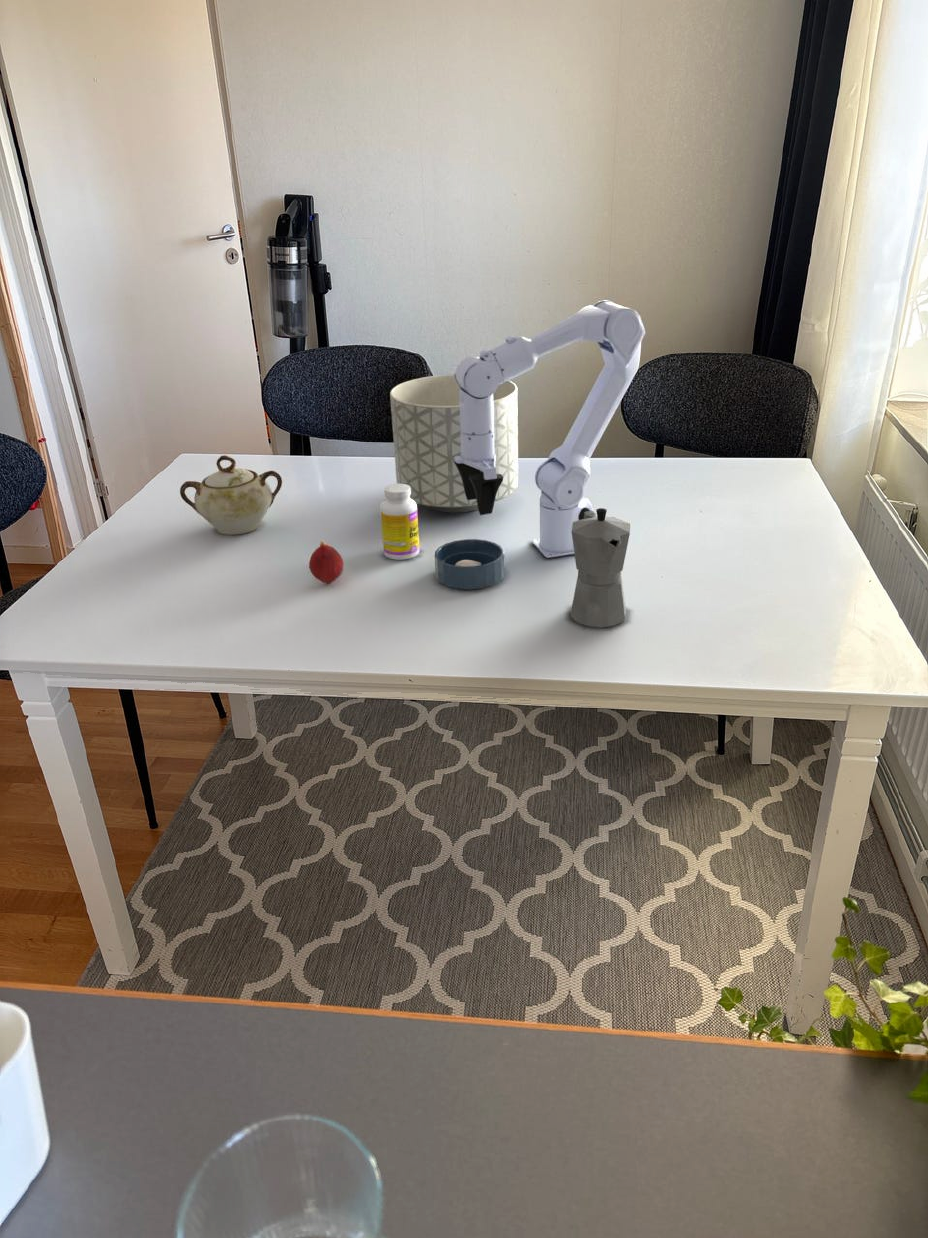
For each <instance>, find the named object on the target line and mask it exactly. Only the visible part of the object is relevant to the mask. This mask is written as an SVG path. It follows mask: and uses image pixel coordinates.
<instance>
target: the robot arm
mask: <svg viewBox="0 0 928 1238" xmlns="http://www.w3.org/2000/svg"><path fill="white" fill-rule="evenodd" d="M645 335H646V329H645V327H644V323H643V321H642V317H641V315H640V314H639V312H638V311H636V309H633V308H630V307H625V306H622V305H619V304H616V303H614V302H613V301H611V300H608V299H602V300H599V301H597V302H595V303H593V305H592V304H591V305H587V306H584V307H582V308H581V309H580V310H579V311H577V312H576V313H574V314H572V315H571V316H569V317H567V318H565V319H563V320H561V321H559V322H558V323H555V324H554V325H552V326H550V327H548V328H547V329H545V330H543V331H541V332H540V333H538V334H535V335H534V336H533V337H530V338H526V337H524V336H523V335H522V336H521V335H518V336H516V337H515V335H509V336H507V337H505V342H503V343H501V344H499V345H497V346H495V347H493V348H490V349H489V350H486V349H483V350H481V351H480V352H479V354H480V355H479V356H474V355H471V356H467V357H465V358H463V359H462V360H461V361H460V362H459V364H458V365H457V367H456V370H455V373H453V374H454V379H455V382H456V383H457V385H458V386H459V387H460V431H461V454H460V456H456V457H455V461H454V463H455V465H456V467H457V469H458V471H459V473H460V476H461V479H462V483H463V487H464V491H465V495H466V498H467V500H473V499H476V500H477V506H478V509H477V511H478V513H479V515H480V516H482V515H483V516H484V515H491V514H492V513H493V510H494V505H495V502H496V501H495V497H496V494H497V491H498V489H499V487H500V485H501V483H502V482H503V476H502V475H501V474H497V469H496V467H495V461H496V455H495V454H494V403H493V393H494V392H495V391H496V389H497V387H498V385H499V384H502V383H504V382H506V381H508V380H509V381H511V380H512V379H515V378H516V377H518V376H521V375H523V374H524V373H526V372H529V371H531V370H533V369H534V368H535V366H536V364H537V361H538V359H539V358H541V357H543V356H546V355H548V354H550V353H552V352H554V351H557V350H559V349H562V348H564V347H566V346H569V345H571V344H573V343H576V342H579V341H580V340H583V341H591V342H596V343H597V345H598V346H599V349H600V352H601V355H602V358H603V362H604V365H603V367H602V369H601V371H600V373H599V374H598V377H597V378H596V380H595V382H594V384H593V386H592V388H591V390H590V392H589V394H588V396H587V397H586V399H585V401H584V403H583V405H582V407H581V409H580V411H579V413H578V415H577V417H575V420H574V422H573V425H572V426H571V428H570V430H569V432H568V434H567V435H566V437H565V439H564V441H563V443H562V445H560V446H558V447H556V448H555V449H553V450H552V451H551V452H550V455H549V456H548V458H547V459H545V461H544V462H542V463H541V464H540V465H539V466H538V467H537V469H536V471H535V473H534V474H535V475H534V483H535V485H536V487H537V488H538V489H539V490H540V497H539V538H536V539H532V540H531V543H532V544H533V545H534V546H535V547H536V549H538V551H539V552H540V553H541V554H542V555H543V556H544V557H546V559H550V558H556V557H563V556H569V555H575V553H574V546H573V539H572V532H571V531H572V525H573V522H575V521H578V520H579V519H578V515H579V513H580V511H581V509H583V508H585V507H586V508H589V509H590V511H593V512H594V509H593V505H592V503H591V502H590V500H589V499H588V498H586V497H585V495H586V490H587V489H586V487H587V483H588V480H589V478H590V476H591V467H590V466H591V465H590V459H591V457H592V455H593V453H594V451H595V450H596V447H597V446H598V444H599V442H600V440H601V438H602V436H603V435H604V433H605V431H606V429H607V427H608V425H609V424H610V422H611V420H612V418H613V416H614V414H615V412H616V411H617V409H618V408H619V405H620V403H621V402H622V399H623V398H624V396H625V395H626V392H627V391H628V388H629V387H630V385H631V383H632V381H633V379H634V378H635V375H636V374H637V373H638V370H639V367H640V361H641V359H640V358H641V349H642V340H643V339H644V336H645ZM584 497H585V498H584Z"/></svg>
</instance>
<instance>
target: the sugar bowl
mask: <svg viewBox="0 0 928 1238" xmlns="http://www.w3.org/2000/svg"><path fill="white" fill-rule="evenodd" d="M223 461H228V462H230V463H231V464H230V465H229V466H228V467H222V465H221V462H223ZM236 462H237V461H236V460H235V459H234V458H232V457H230V456H228V455H226V454H225V455H220V456H219V457H218V458H217V460H216V467H217V471H215V472H213V473H211V474H210V475H207V477H204V478H203V479H202V480H201V482H199V481H195V480H188V481H187V480H186V481H185V482H183V483H182V485H181V486H180V488H179V495H180V498H181V499H182V500H183V501H184V502H185V503H186V504H187V505H188V506H190V507H191V508H192V509H193V510H194V511H195V512H196V513H197V514H198V515H200V516H201V517H202V518H203V519H204V520H205V521H206V522H208V523H209V524H210V525H211V526H212V527H213V528H214V529H215V530H216V531H217V532H218V533H220V534H222V535H230V536H235V535H241V534H242V535H243V534H246V533H247V534H248V533H249V532H252V531H254V530H256V529H258V528H259V527H260V526H261V524H262V520H263V519H264V517H265V516H266V514H267V512H268V510H269V509H270V507H271V506H272V505H273V503H274V500H275V499H276V496H277V495H278V493H279V492H280V490H281V488H282V485H283V479H282V476H281V475H280V473H278V472H277V471H276V470H268V471H265V472H262V473H261V474H258V473H257V472H256V471H254V470H251V469H244V468H238V467H237V468H236V466H237V464H236ZM269 477H274V478H275V479H276V481H277V484H276V486H275V489H274V491H272V488H271V486H270V484H269V482H268V481H267V480H266V479H268V478H269ZM188 488H193V489H195V493H194V497H193V498H194V502H193V501H191V499H189V497H188V496H187V494H186V490H187V489H188Z"/></svg>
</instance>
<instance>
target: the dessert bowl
mask: <svg viewBox="0 0 928 1238" xmlns="http://www.w3.org/2000/svg"><path fill="white" fill-rule="evenodd" d="M461 560H472V561H477V562H480V563H481V565H478V566H455V564H456V563H457V562H459V561H461ZM505 567H506V566H505V549H504V548H503V547H502V546H501V545H500V544H499V543H496V542H494V541H490V540H486V539H478V538H477V539H475V538H472V539H471V538H470V539H459V540H454V541H453V540H452V541H451V542H447V543H444V544H443V545H441V546H439V547H438V548H437V549H436V550H435V551H434V571H435V573H434V574H435V578H436V579H437V581H438V582H439V583H441V584H442V585H444V586H446V587H451V588H453V589H458V590H477V589H484V588H487V587H489V586H492V585H493V586H494V585H495V584H497V583H498V582H500V581H502V579H503V578H504V576H505V575H506V574H505V573H506V571H505V569H506V568H505Z"/></svg>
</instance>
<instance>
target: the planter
mask: <svg viewBox="0 0 928 1238" xmlns="http://www.w3.org/2000/svg"><path fill="white" fill-rule="evenodd" d="M454 374H455V373H452V374H440V375H429V376H424V377H419V378H413V379H411V380H407V381H404V382H401V383H399V384H396V385H395V386H394V387H393V388H392V389H391V390H390V392H389V398H390V411H391V424H392V438H393V452H394V463H395V464H394V466H395V478H396V484H406V485H409V486H410V489H411V494H410V498H411V499H413V500H414V501H415V502H416V504H418V505H422V506H423V507H427V508H429V509H432V510H434V511H438V512H444V513H452V514H459V513H460V514H461V513H468V512H474V511H478V506H477V500H476V499H473V500H467V498H466V495H465V491H464V487H463V483H462V479H461V476H460V473H459V471H458V469H457V467H456V465H455V463H454V461H455V457H456V456H460V454H461V431H460V387H459V386H458V385H457V383H456V382H455V379H454ZM493 403H494V454H495V455H496V461H495V467H496V469H497V474H501V475H502V476H503V482H502V483H501V485H500V487H499V489H498V491H497V494H496V497H495V502H498V501H500V500H501V501H502V500H503V499H505V498H507V497H509V496H511V495H512V494H514V493H515V492H516V490H517V489H518V488H519V426H518V425H519V419H518V417H519V416H518V406H519V405H518V386H517V385H516V383H514V382H513V381H511V380H508V381H506V382H504V383H502V384H499V385H498V387H497V389H496V391H495V392H494V393H493Z"/></svg>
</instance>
